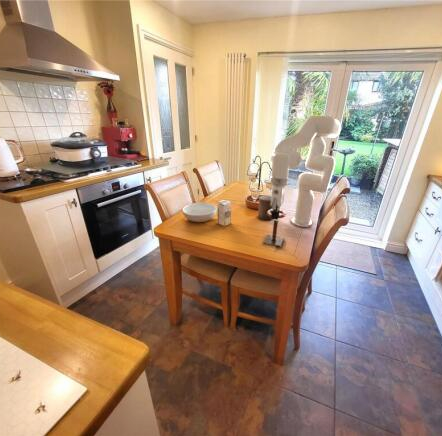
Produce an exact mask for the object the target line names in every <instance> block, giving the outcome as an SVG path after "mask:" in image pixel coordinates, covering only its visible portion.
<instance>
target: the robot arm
mask: <svg viewBox="0 0 442 436" xmlns="http://www.w3.org/2000/svg"><path fill="white" fill-rule="evenodd" d="M341 130H342V124H341V121H339V120H338V119H336V118H334V117H332V116H329V115H310V116H307V117H306V118H305V120H304V121H303V123H302V124H301V126H300V127H299V129H298V130H297V132H296V133H293V134H291V135H289V136H287V137H285V138H283V139H282V140H281V141H279V142H278V144H277V145H276V146H275V148H273V151H272V152H271V157H270V159H271V162H272V163H271V174H270V183H269V185H271V195H270V196H271V206H272V205H273V207H272V215H271V218H272V220H274V219H278V220H279V218H278V215H280V213H279V211H280V210H281V208H282V206H283V205H284V201H285V192H286V190H285V189H286V186H287V185H288V180H289V172H290V169H297V168H299V167H300V166H301V165H302V163H303V160H304V159H303V155H302V153H301V152H299V151H296V150H297V149H302V148H305V147H308V146H309V148H308V149H309V150H308V153H307V156H306V160H305V164H304V165H305V169H306V170H308V171H312V172H308V171H307V172H306V171H305V172H302V173H300V174H299V175H298V179H297V195H296V196H297V197H296V203H295V211H294V217H292V218H291V221H290V222H291V223H292V225H294V226H297V227H301V228H309V227H310V226H312V225H313V221H312V220H311V216H312V210H313V205H314V199H315V196H314V192H317V193H322V194H323V193H326V192H327V191H328V189H329V187H330V184H331V180H332V177H333V174H334V170H335V166H336V160H335V159H336V158H335V157H334V156H333V155H332V156H331V155H326V154H325V151H326V148H327V144H326V142H325V140H324V138H331V139H332V138H333V139H335V138H336V137H338V136H339V135H340V133H341ZM314 172H317V173H314ZM319 173H322V174H319Z"/></svg>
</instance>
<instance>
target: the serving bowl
mask: <svg viewBox="0 0 442 436" xmlns="http://www.w3.org/2000/svg"><path fill="white" fill-rule="evenodd" d="M217 213H218V206H216V204H213V203H211V202H201V201H200V202H192V203H189V204H186V205H185V206H184V207H182V214H183V216H184V217H185V219H187V220H189V221H191V222H196V223H201V222H207V221H210V220H212V219H213V218H214V217H216V214H217Z"/></svg>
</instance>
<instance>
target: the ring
mask: <svg viewBox="0 0 442 436" xmlns="http://www.w3.org/2000/svg"><path fill="white" fill-rule="evenodd" d="M271 213H272V209H271V210H268V212H267V214H268V216H270V217H271V215H272V214H271ZM286 215H287V213H286V212H285V211H284V210H282V209H280V211H279V215H278V219H283V218H286Z"/></svg>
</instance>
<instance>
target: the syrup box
mask: <svg viewBox="0 0 442 436" xmlns="http://www.w3.org/2000/svg"><path fill="white" fill-rule="evenodd" d="M231 223H232V201H229V200H227V199H223V200H220V201H218V202H217V224H219V225H221V226H223V227H226V226H228V225H231Z"/></svg>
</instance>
